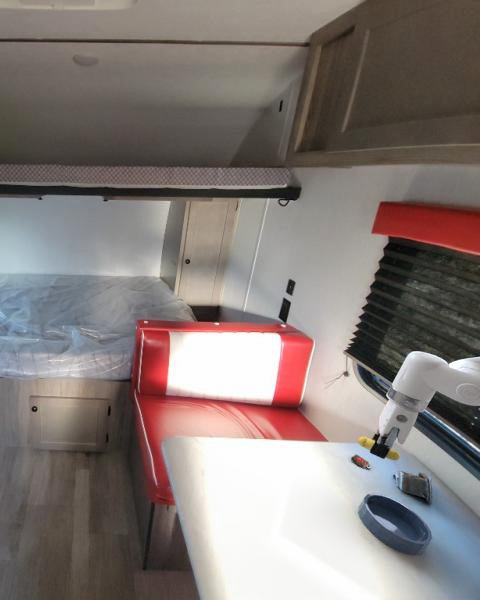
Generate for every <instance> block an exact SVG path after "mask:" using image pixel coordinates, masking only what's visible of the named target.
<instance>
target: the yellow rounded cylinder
mask: <svg viewBox="0 0 480 600" xmlns="http://www.w3.org/2000/svg"><path fill="white" fill-rule="evenodd" d="M374 443H375V441H374V440H372V438H369V437H368V436H363V435H362V436H360V437H358V439H357V444H358V445H359V446H360V447H362V448H364V449H366V450H368V451H370V450H371V448H372V446H373V444H374ZM400 458H401V453H400V452H399V451H398V450H397V449H395V448H393V447H391V449H390V450H389V452H388V454H387V456H386V457H385V459H388V460H391V461H398V460H399V459H400Z"/></svg>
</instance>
